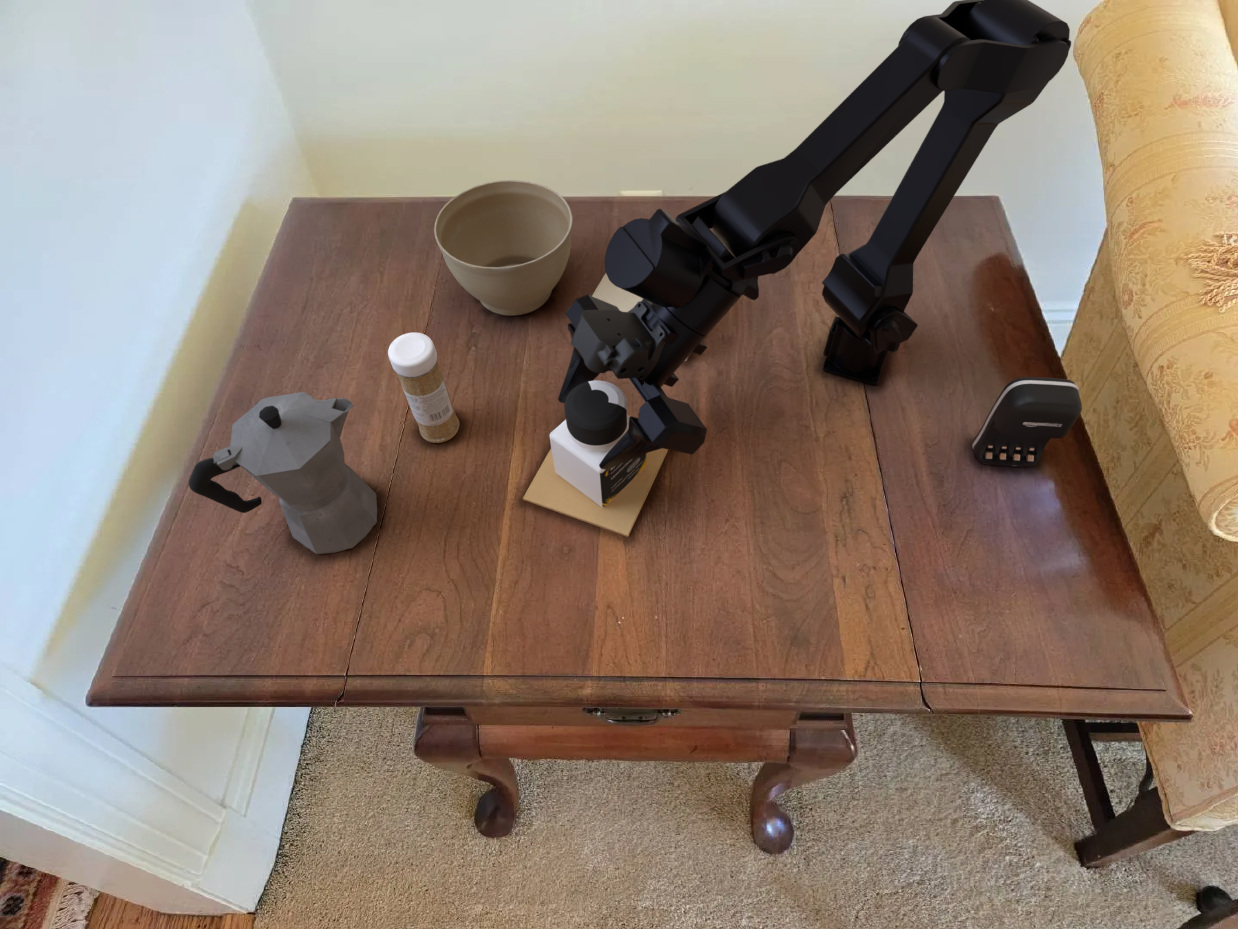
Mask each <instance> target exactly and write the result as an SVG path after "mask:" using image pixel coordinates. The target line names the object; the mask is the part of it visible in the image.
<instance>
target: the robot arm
mask: <svg viewBox="0 0 1238 929" xmlns="http://www.w3.org/2000/svg"><path fill="white" fill-rule="evenodd" d="M1070 31H1071V29H1070V26H1069V23H1068V22H1066V21H1065V20H1063V19H1061V18H1059V17H1057V16H1056V15H1054V14H1053V13H1051V12H1049V11H1047V10H1046V9H1044V8H1042V7H1041V6H1039V5H1037V4H1036V3H1034V2H1032V1H1031V0H955V1H953V2H951V3H950V5H949V6H947V7H946V8H945V10H944V11H942V12H941V13H939V14H930V15H923V16H921V17H919V18H917V19H915V20H914V21H913V22H911V24H909V25H908V27H906V29H905V30H904V32H903V33H902V35H901V37H900V39H899V41H898V44H897V47H895V49H894V50H893V51H892V52H891V53H890V54H889V55H888V56H886V57H885V58H884V59H883V61H881V63H880V64H879V65H878V66H877V67H875V69H874V70H873V71H872V72H871V73H869V75H868V76H867V77H866V78H865V79H864V80H862V82H861V83H860V84H858V86H856V88H855V89H854V90H853V91H852V92H850V93H849V94H848V95H847V97H846V98H845V99H843V101H842V102H841V103H840V104H838V106H836V108H835V109H834V110H833V111H832V112H830V113H829V115H828V116H826V117H825V119H823V120H822V122H821V123H819V125H817V127H816V128H814V130H813V131H812V132H811V133H810V134H809V135H808V136H806V137H805V139H804V140H802V141H801V143H799V144H798V145H797V147H796V148H794V149H793V150H792V151H791V152H789V153H788V154H787V155H786V156H784V157H783V158H780V159H776V160H774V161H770V162H767V163H764V164H760V165H758V166H756V167H754V168H753V169H752V170H751V171H750V172H748V173H747V174H746V175H744V176H743V177H742V178H741V179H740V180H738V181H737V182H736V183H734V184H733V185H732V186H731V187H730V188H728V189H727V190H726V191H724V192H722V193H719V194H717V195H716V196H714V197H711V198H710V199H708V200H706V201H703V202H702V203H699V204H698V205H696V206H693V207H691V208H689V209H687V210H685V211H683V212H681V213H679V214H678V215H677V216H675V218H673V216H672V215H671V214H670V213H669V212H667V211H665V210H663V209H662V208H658V209H656V210H655V212H654V213H653V214H652V216H651V217H650V218H641V217H640V218H635V219H633V220H630V221H628V222H627V223H625V224H624V225H622V226H619V227H618V228H617V229H616V231H615V232H614V233H613V235H612V236H611V238H610V240H609V242H608V245H607V247H606V250H605V255H604V269H605V274H607V276H608V279H609V280H610V282H611V283H612V284H614V285H615V286H616V287H619V288H621V289H623V290H625V291H628V292H630V293H632V294H634V295H636V296H639V297H641V298H643V300H642V301H639V302H638V303H637V304H636V305H635V306H634V308H632V309H631V310H630V311H628V312H622V311H620V310H619V309H618V307H617V306H614V305H612V304H609V303H607V302H604V301H602V300H600V299H597V298H595V297H592V295H590V294H586V295H583V296H581V297H577V298H576V299H575V300H574V301H573V302H572V303H571V305H570V306H569V307H568V309H567V310H566V311H565V314H564V315H565V316H566V317H567V319H568V320H569V321H570V322H569V323H568V324H567V330H568V332H569V333H570V338H571V340H570V343H571V345H572V347H573V350H572V355H571V357H570V362H569V365H568V368H567V370H566V374H565V377H564V380H563V383H562V386H561V389H560V392H559V395H558V398H557V400H558V402H559V403H561V404H565V400H566V397H567V396H568V394H569V393H570V392H571V391H572V390H573V389H574V388H575V387H576V386H578V385H580V384H582V383H585V382H588V381H595V379H596V378H597V377H598V376H599V375H600V374H606V373H607V372H612V373H613V375H614V376H615V377H616V379H618V380H622V379H623V380H624V379H628V380H629V381H630V382H631V384H632V385H633V387H634V388H635V390H636V391H637V393H638V394H639V395H640V398H642V400H643V401H644V403H643V404H642V405H641V406H640V407H639V409H638V417H635V416H632V415H629V416H630V417H629V429H628V431H627V432H626V433H625V434H624V435H623V436H622V438H621V439H620V440H619V441H618V442H617V443H616V444H615V445H614V446H613V448H612V449H611V450H610V451H609V452H608V453H607V454H606V456H605V457H604V458H603V460H602V461H601V463H600V464H599V467H600V468H601V469H605V470H607V469H610V468H612V467H615V466H617V465H619V464H622V463H624V462H626V461H629V460H631V459H634V458H636V457H638V456H641V455H643V454H646V453H648V452H651V451H655V450H658V449H661V448H664V449H668V451H673V452H676V453H677V452H678V453H683V454H687V455H691V456H693V455H694V454H695V453H696V452H697V451H698V450H699V449H700V448H701V447H702V446H703V445H704V444H705V442H706V439H707V433H708V428H707V427H706V426H705V424H704V423H703V422H702V420H701V419H700V417H699V416H698V414H696V412H695V411H694V409H693V408H692V406H691V405H690V404H689V403H687V402H684V401H681V400H677V399H675V398H671V397H668V395H667V394H666V393H665V390H664V389H662V387H663V386H664V385H665V386H668V387H670V388H673V387H674V386H675V384H676V383H678V382H679V380H680V379H679V378H678V376H677V375H676V374H675V373H676V371H677V370H678V369H679V368H680V367H681V366H682V365H683V363H684V362H686V361H685V360H686V359H687V357H688V356H689V357H690V355H691V354H692V353H693V354H695V355H698V356H701V355H703V353H704V352H705V351H706V350H707V348H708V346H707V345H706V343H705V342H704V341H703V340H705V339H706V337H707V336H708V335H709V334H710V333H711V331H713V329H715V327H716V326H717V325H718V324H719V323H720V321H721V320H722V319H723V318H724V317H725V316H726V315H727V314H728V312H729V311H730V310H731V309H732V308H733V307H734V305H736V303H737V302H738V301H739V300H740V299H741V297H742V296H743V297H746V298H747V299H749V300H751V301H756V300H758V299H759V297H760V288H759V277H762V276H766V275H775V274H777V273H779V272H781V271H782V270H784V269H786V268H787V267H788V266H790V264H792V263H793V261H794V260H795V258H796V257H797V256H798V254H799V253H800V252H801V251H802V250H803V249H804V248H805V247H806V245H807V244H809V242H810V241H811V240H812V239H813V237H814V236H815V235H816V233H817V232H818V231H819V230H818V229H819V227H820V223H821V220H822V218H823V214H824V211H825V208H826V206H827V205H828V203H829V202H830V201H831V200H832V199H833V198H834V197H835V196H836V194H837V193H838V192H840V190H841V189H843V188H844V187H845V185H847V184H848V183H849V182H850V181H851V180H852V179H853V178H854V177H855V176H856V175H857V174H859V172H860V171H861V170H862V169H864V167H865V166H866V165H868V163H870V161H872V160H873V159H874V158H875V157H876V156H877V155H878V154H879V153H880V152H881V151H882V150H883V149H884V148H885V147H886V146H887V145H888V144H889V143H890V142H892V141H893V140H894V138H896V137H897V136H898V135H899V134H900V133H901V132H902V131H903V130H904V129H905V128H906V127H907V126H908V125H910V124H911V122H912V121H913V120H914V119H916V118H917V116H919V115H920V114H921V113H922V112H923V111H924V110H925V109H926V108H927V107H929V105H930V104H932V102H933V101H935V99H936V98H937V97H939V96H940V95H941V94H942V93H943V103H942V106H941V108H940V109H939V112H938V113H937V115H936V117H935V118H934V120H933V122H932V124H931V126H930V128H929V129H928V131H927V133H926V135H925V137H924V139H923V141H922V142H921V144H920V146H919V148H918V150H917V151H916V152H915V155H914V157H913V159H912V160H911V163H910V165H909V166H908V168H907V170H906V172H905V173H904V176H902V179H901V180H900V182H899V184H898V186H897V188H896V190H895V192H894V194H893V195H892V197H891V199H890V201H889V202H888V205H887V207H886V208H885V210H884V212H883V213H882V215H881V216H880V219H879V221H878V223H877V224H876V226H875V228H874V230H873V232H872V233H871V235H870V237H869V239H868V240H867V242H866V243H865V244H863V245H861V246H859V247H857V248H856V249H854V250H851V251H850V252H848V253H840V254H838V256H836V257H835V259H834V262H833V264H832V267H831V268H830V271H829V272H828V274H827V275H826V277H825V278H824V279H823V280H822V282H821V284H822V285H823V288H822V291H821V296H822V297H823V300H824V302H825V303H826V305H827V306H828V307H829V308H830V309H831V310H832V311H833V312H834V313H835V314H836V316H835V317H834V318H833V320H832V323H831V326H830V329H829V331H828V335H827V339H826V343H825V346H824V350H823V353H822V354H823V356H824V357H825V360H824V363H823V365H822V371H823V372H825V373H828V374H831V375H835V376H838V377H841V378H846V379H849V380H852V381H856V382H859V383H864V384H867V385H871V386H877V385H879V383H880V380H881V376H882V373H883V369H884V366H885V363H886V359H887V357H888V354H889V352H890V353H894V352H897V351H899V348H900V346H901V344H902V343H904V342H907V341H908V340H909V339H910V338H911V337H912V335H913V334H914V332H915V331H916V329H917V327H919V324H918V323H917V322H916V321H914V319H913V318H912V317H911V316H910V315H909V314H908V313H907V312H906V308H907V307H908V304H909V302H910V300H911V298H912V296H913V293H914V263H915V261H916V260H917V258H918V255H919V254H920V252H921V251H922V249H923V247H924V246H925V244H926V242H927V241H928V239H929V238H930V236H931V234H932V233H933V231H934V229H935V228H936V226H937V225H938V223H939V222H940V220H941V218H942V217H943V215H944V213H945V211H946V210H947V209H948V207H949V205H950V203H951V202H952V200H953V199H954V197H955V195H956V194H957V192H958V190H959V188H960V187H961V185H962V184H963V183H964V180H965V179H966V177H967V176H968V174H969V172H970V171H971V169H972V167H973V166H974V165H975V163H976V161H977V159H978V158H979V156H980V154H981V153H982V151H983V150H984V148H985V146H986V145H987V143H988V142H989V139H990V138H991V136H992V135H993V133H994V131H995V130H996V128H997V127H998V126H999V125H1000V124H1001V123H1003V122H1004V121H1006V120H1009V118H1011V117H1012V116H1014V115H1016V114H1018V113H1019V112H1021V111H1022V110H1024V109H1026V108H1027V107H1030V106H1031V105H1033V103H1034V102H1035V101H1036V100H1037V99H1038V97H1039V96H1040V94H1041V93H1042V92H1043V90H1044V89H1045V88H1046V86H1048V84H1049V83H1050V81H1052V80H1053V79H1054V78H1055V77H1056V76H1057V74H1058V73H1059V72H1060V71H1061V70H1062V68H1063V67H1064V65H1065V63H1066V61H1067V59H1068V56H1069V52H1070V49H1071V47H1072V41H1071V40H1070V34H1071V32H1070ZM711 229H712V230H711ZM689 357H688V358H689ZM687 360H688V359H687Z"/></svg>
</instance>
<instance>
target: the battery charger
mask: <svg viewBox="0 0 1238 929" xmlns="http://www.w3.org/2000/svg"><path fill="white" fill-rule="evenodd" d="M1082 410H1083V404H1082V400H1081V396H1080V389H1079V386H1078V385H1077V384H1076V382H1075V381H1073V380H1071V379H1066V378H1056V377H1044V376H1043V377H1040V376H1021V377H1017V378H1014V379H1012V380H1010V381H1009V382H1008V383H1007V384H1006V385H1005V386H1004V388H1003V389H1002V390H1001V392H1000V393H999V395H998V397H997V398H996V400H995V402H994V403H993V405H992V407H991V408H990V410H989V412H988V414H987V416H986V418H985V420H984V422H983V424H982V426H981V427H980V429H979V430H978V432H977V434H976V436H975V437H974V439H973V440H972V445H971V447H972V449H973V453H974V455H975V458H976V459H977V460H978V461H979V462H980V463H982V464H985V465H989V466H1001V467H1002V466H1003V467H1016V468H1017V467H1019V468H1031V467H1035V466H1037V464H1038V462H1039V460H1040V459H1041V457H1042V455H1043V452H1044V450H1045V448H1046V446H1047V445H1048V443H1049V442H1050V441H1051V439H1054V440H1055V439H1059V440H1060V439H1063V438H1064V437H1065V436H1067V434H1068V433H1069V432H1070V430H1071V429H1072V428H1073V426H1074V425H1075V423H1076V421H1077V420H1078V418H1079V417H1080V415H1081V414H1082Z"/></svg>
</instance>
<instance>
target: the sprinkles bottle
mask: <svg viewBox="0 0 1238 929" xmlns="http://www.w3.org/2000/svg"><path fill="white" fill-rule="evenodd" d="M387 355H388V359H389V362H390V363H391V366H392V369H393V370H394V372H395V373H396V374H397V376H398V379H399V381H400V384H401V388H402V390H403V392H404V395H405V398H406V400H407V402H408V405H409V407H410V410H411V412H412V415H413V418H414V419H415V421H416V423H417V426H418V428H419V429H418V430H419V433H420V436H421V437H422V438H423V439H424V440H425V441H426V442H428V443H433V444H441V443H445V442H447V441H449V440H451V439H452V438H454V437H455V436H456V435H457V433H458V431H459V429H460V420H459V418H458V416H457V415H456V411H455V409H454V405H453V400H452V397H451V394H450V391H449V387H448V386H447V384H446V380H445V377H444V375H443V373H442V369H441V368H440V364H439V361H438V352H437V350H436V347H435V344H434V342H433V339H431V338H430V336H428V335H426V334H424V333H422V332H415V331H414V332H413V331H412V332H406V333H404V334H401V335H399V336H397V337H396V338H394V340H392V342H391V343H390V344H389V348H388V350H387Z"/></svg>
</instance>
